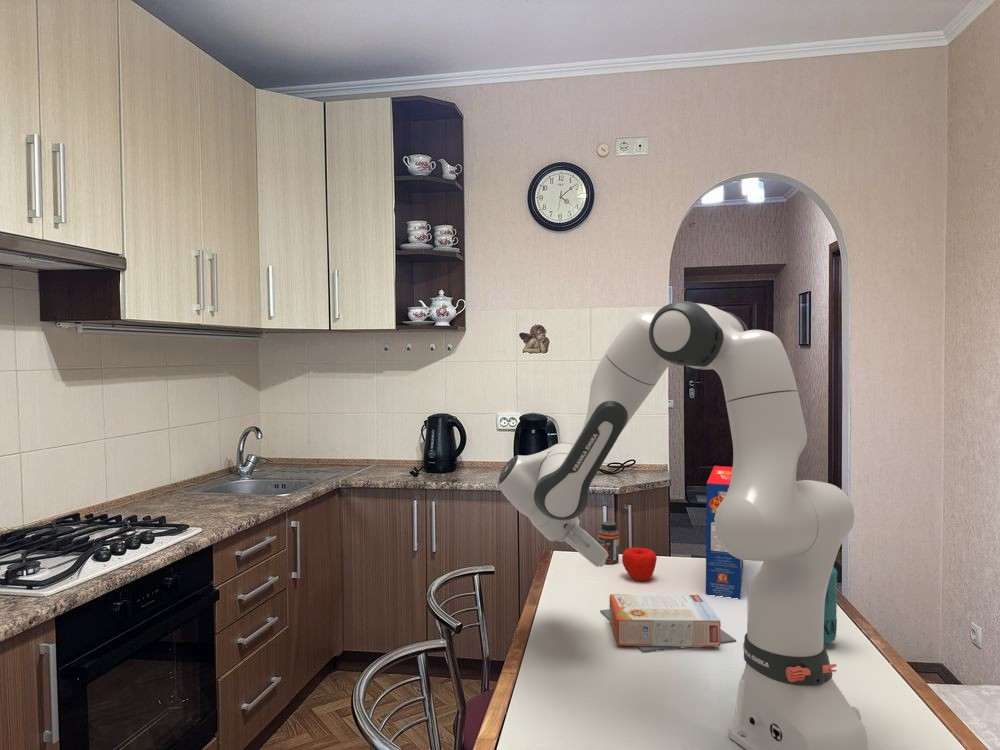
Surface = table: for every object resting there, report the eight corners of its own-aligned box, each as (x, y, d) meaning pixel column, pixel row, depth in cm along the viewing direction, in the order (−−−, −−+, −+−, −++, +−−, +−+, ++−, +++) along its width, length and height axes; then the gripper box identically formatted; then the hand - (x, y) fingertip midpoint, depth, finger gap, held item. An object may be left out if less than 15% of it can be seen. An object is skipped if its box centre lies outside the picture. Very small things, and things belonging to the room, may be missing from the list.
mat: (736, 641, 138) (736, 639, 138) (642, 652, 133) (642, 650, 133) (682, 603, 159) (682, 602, 159) (600, 611, 154) (600, 610, 154)
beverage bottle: (798, 636, 141) (799, 541, 140) (832, 638, 139) (833, 543, 139) (805, 649, 134) (806, 550, 134) (841, 652, 133) (842, 552, 132)
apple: (615, 578, 177) (615, 549, 177) (635, 571, 183) (635, 543, 183) (643, 587, 171) (643, 556, 171) (663, 579, 177) (663, 550, 177)
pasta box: (713, 562, 191) (714, 465, 190) (743, 566, 188) (744, 467, 187) (705, 595, 165) (706, 483, 164) (740, 599, 162) (741, 485, 161)
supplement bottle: (594, 562, 191) (594, 523, 191) (603, 557, 196) (603, 519, 196) (613, 566, 188) (613, 526, 188) (622, 560, 193) (622, 522, 193)
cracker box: (616, 647, 135) (721, 648, 134) (616, 618, 134) (721, 618, 133) (609, 620, 149) (704, 620, 147) (608, 593, 148) (704, 593, 147)
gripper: (585, 520, 130) (631, 566, 133) (553, 498, 150) (593, 538, 152) (564, 544, 129) (610, 590, 132) (534, 519, 149) (575, 559, 152)
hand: (601, 562), depth 142 cm, fingers closed
